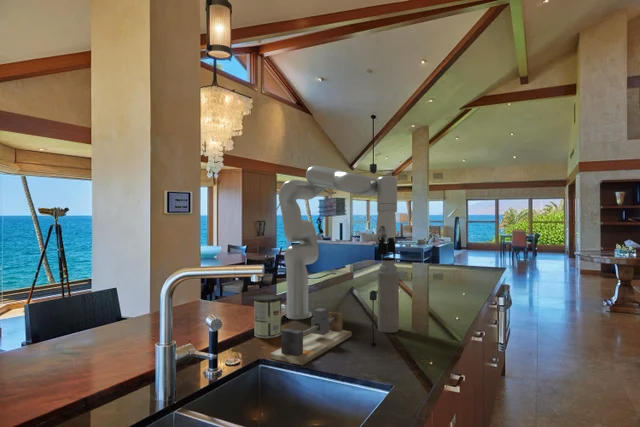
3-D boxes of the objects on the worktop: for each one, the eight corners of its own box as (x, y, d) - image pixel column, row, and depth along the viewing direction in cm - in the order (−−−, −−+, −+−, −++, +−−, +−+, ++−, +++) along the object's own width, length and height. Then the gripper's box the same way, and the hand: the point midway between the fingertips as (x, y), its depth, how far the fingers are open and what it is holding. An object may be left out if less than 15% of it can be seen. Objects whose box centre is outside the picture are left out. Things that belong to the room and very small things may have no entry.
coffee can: (261, 329, 156) (261, 293, 156) (286, 331, 153) (286, 294, 153) (248, 336, 146) (248, 298, 147) (274, 339, 143) (274, 300, 143)
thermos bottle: (398, 327, 159) (398, 256, 159) (398, 333, 151) (398, 258, 151) (378, 326, 160) (378, 256, 160) (377, 332, 152) (377, 258, 153)
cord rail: (269, 358, 124) (269, 330, 124) (323, 331, 154) (323, 308, 154) (302, 365, 118) (302, 336, 118) (351, 335, 148) (351, 312, 148)
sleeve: (311, 333, 139) (311, 310, 139) (316, 330, 143) (316, 307, 143) (323, 335, 137) (323, 311, 137) (329, 332, 140) (329, 309, 140)
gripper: (385, 208, 162) (385, 251, 162) (369, 208, 147) (369, 254, 147) (403, 208, 159) (403, 251, 159) (389, 208, 144) (389, 255, 144)
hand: (387, 253), depth 153 cm, fingers open, 9 cm apart
